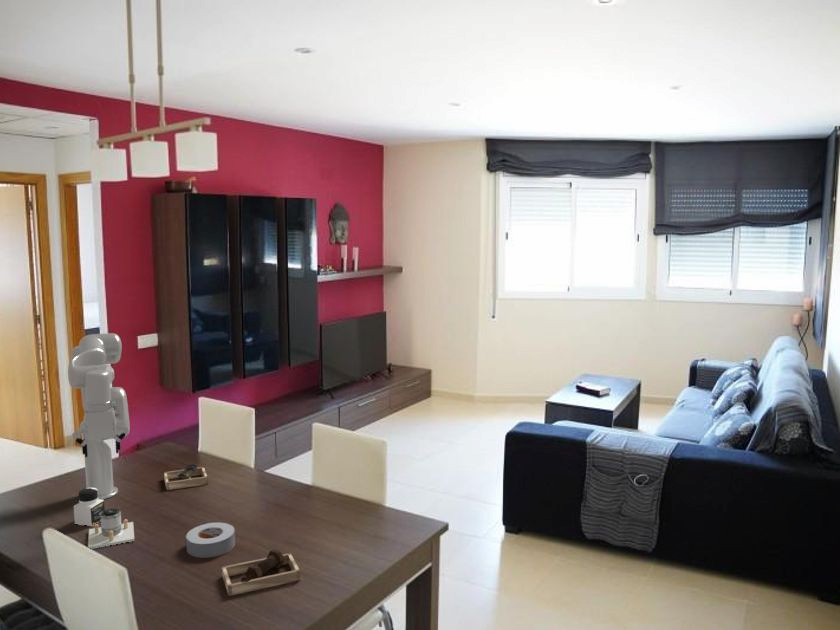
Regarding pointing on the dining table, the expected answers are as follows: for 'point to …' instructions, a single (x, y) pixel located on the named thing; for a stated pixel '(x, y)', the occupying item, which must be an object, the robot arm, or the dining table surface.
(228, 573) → the bolt frame
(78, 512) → the medicine bottle
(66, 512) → the dining table surface
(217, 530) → the tape roll
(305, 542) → the dining table surface
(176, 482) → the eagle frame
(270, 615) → the dining table surface
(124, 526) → the pin board
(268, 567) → the bolt
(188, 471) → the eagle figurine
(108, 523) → the camera lens
